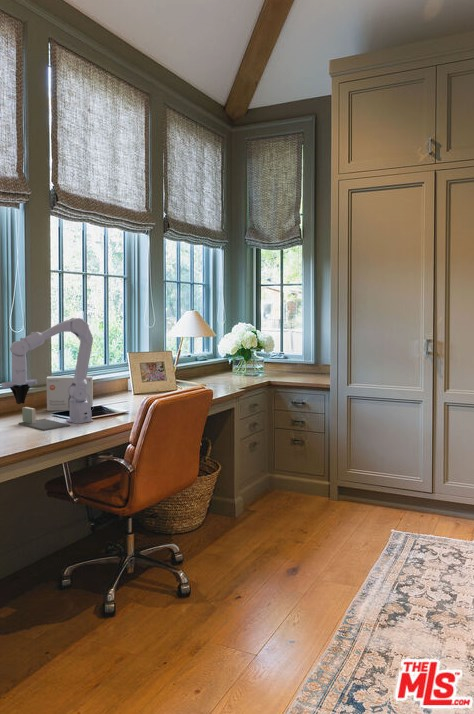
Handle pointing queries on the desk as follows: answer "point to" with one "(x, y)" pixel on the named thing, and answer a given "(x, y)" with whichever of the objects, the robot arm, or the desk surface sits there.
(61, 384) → the skincare box
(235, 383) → the desk surface
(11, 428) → the desk surface
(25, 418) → the tile
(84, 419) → the robot arm
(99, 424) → the desk surface
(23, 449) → the desk surface
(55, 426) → the mat
